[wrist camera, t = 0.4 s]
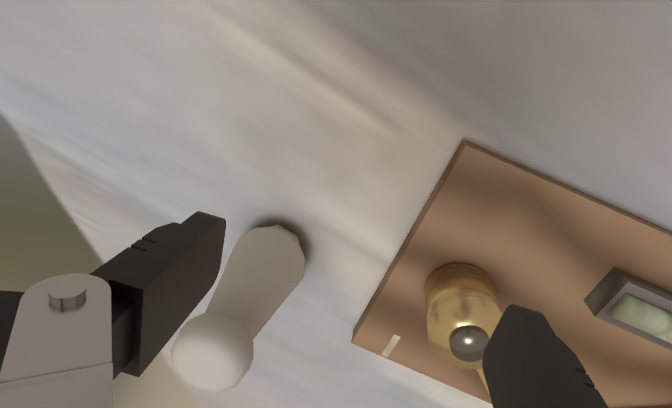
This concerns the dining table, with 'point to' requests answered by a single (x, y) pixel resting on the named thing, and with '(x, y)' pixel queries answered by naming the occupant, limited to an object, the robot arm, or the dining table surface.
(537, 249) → the levelling plate
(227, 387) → the salt shaker
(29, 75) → the dining table surface
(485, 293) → the dial
